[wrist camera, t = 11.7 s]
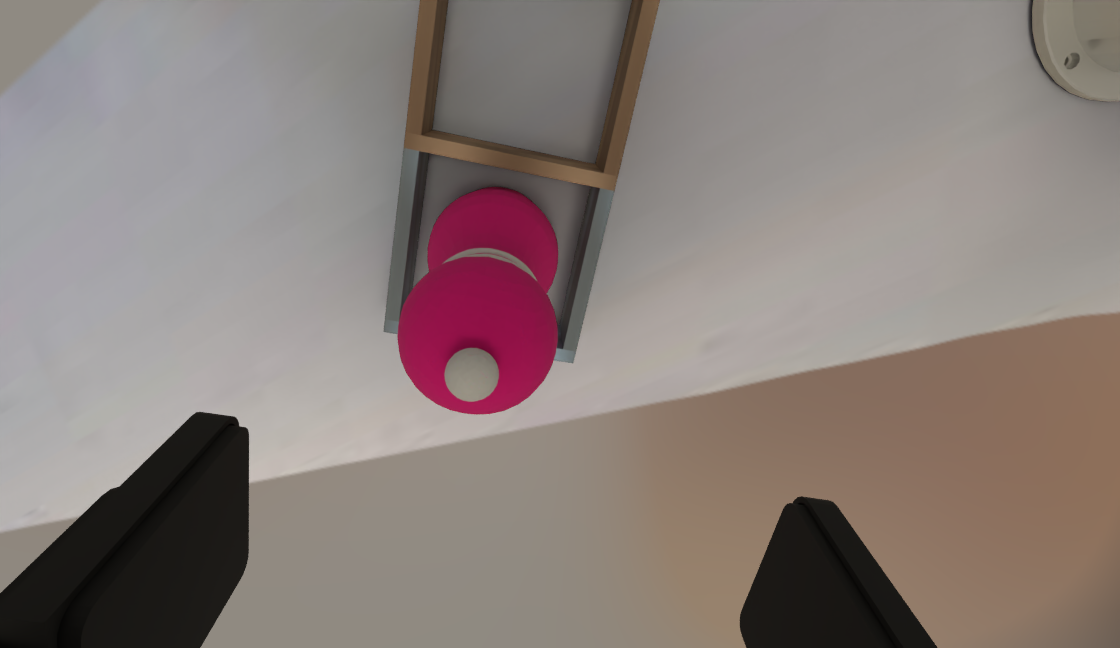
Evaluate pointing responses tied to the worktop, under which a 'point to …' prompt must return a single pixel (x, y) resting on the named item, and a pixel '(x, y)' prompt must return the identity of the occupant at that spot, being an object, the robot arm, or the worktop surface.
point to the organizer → (514, 163)
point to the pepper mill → (483, 305)
